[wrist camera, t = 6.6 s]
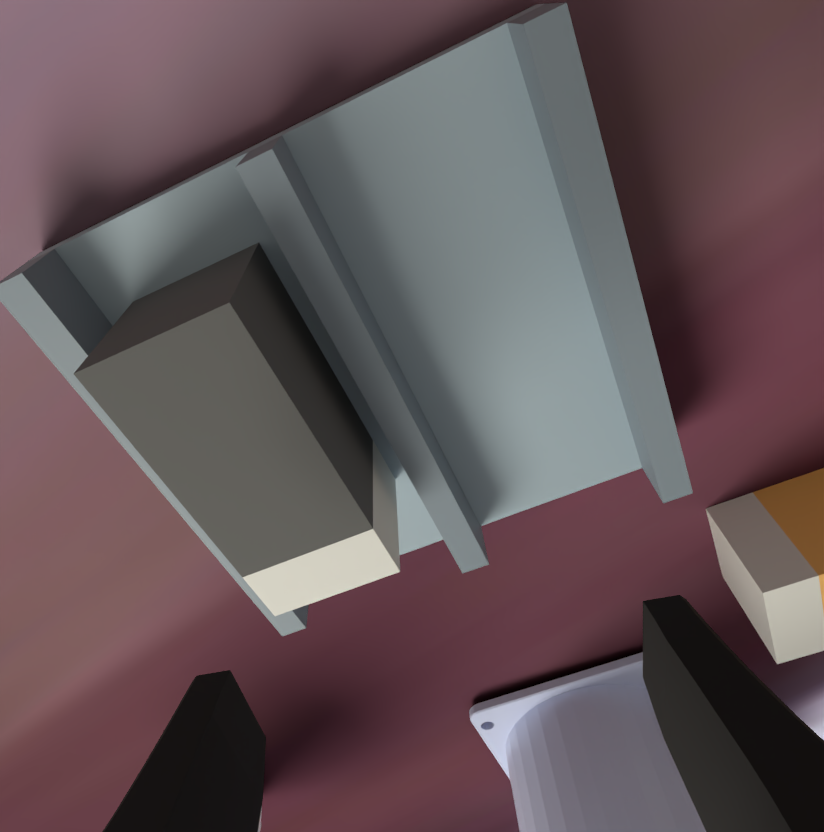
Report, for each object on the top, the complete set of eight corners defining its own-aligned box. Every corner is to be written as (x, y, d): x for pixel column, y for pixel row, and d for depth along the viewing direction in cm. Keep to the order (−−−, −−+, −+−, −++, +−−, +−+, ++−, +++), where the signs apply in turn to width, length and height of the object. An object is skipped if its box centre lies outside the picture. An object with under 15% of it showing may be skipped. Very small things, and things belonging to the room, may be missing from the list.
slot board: (658, 442, 19) (693, 493, 17) (290, 577, 21) (282, 636, 19) (536, 4, 13) (567, 2, 11) (40, 252, 15) (-10, 288, 13)
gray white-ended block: (132, 301, 15) (72, 373, 12) (259, 242, 15) (229, 302, 12) (290, 519, 19) (274, 616, 16) (395, 479, 18) (400, 571, 15)
